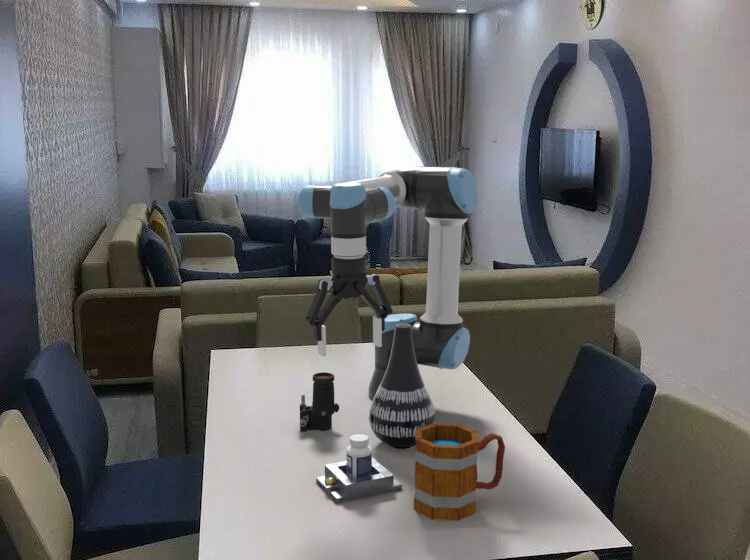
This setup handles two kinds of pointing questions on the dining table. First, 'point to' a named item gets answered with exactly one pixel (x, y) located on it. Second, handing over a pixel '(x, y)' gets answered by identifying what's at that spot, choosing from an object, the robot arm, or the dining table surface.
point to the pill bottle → (359, 457)
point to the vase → (401, 396)
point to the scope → (319, 405)
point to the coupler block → (356, 482)
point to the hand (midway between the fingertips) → (350, 350)
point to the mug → (450, 470)
